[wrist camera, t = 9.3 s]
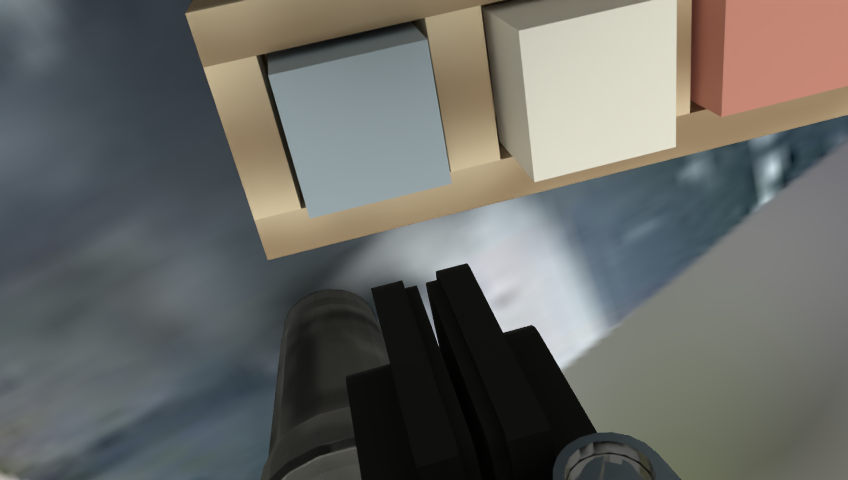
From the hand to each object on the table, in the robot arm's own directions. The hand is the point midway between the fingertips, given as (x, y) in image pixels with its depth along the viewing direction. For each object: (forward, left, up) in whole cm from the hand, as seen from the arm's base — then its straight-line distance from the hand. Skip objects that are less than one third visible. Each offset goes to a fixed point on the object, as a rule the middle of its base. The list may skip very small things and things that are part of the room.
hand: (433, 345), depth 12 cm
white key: (0, +8, -15) cm, 17 cm away
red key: (0, +15, -16) cm, 22 cm away
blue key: (0, 0, -16) cm, 16 cm away
